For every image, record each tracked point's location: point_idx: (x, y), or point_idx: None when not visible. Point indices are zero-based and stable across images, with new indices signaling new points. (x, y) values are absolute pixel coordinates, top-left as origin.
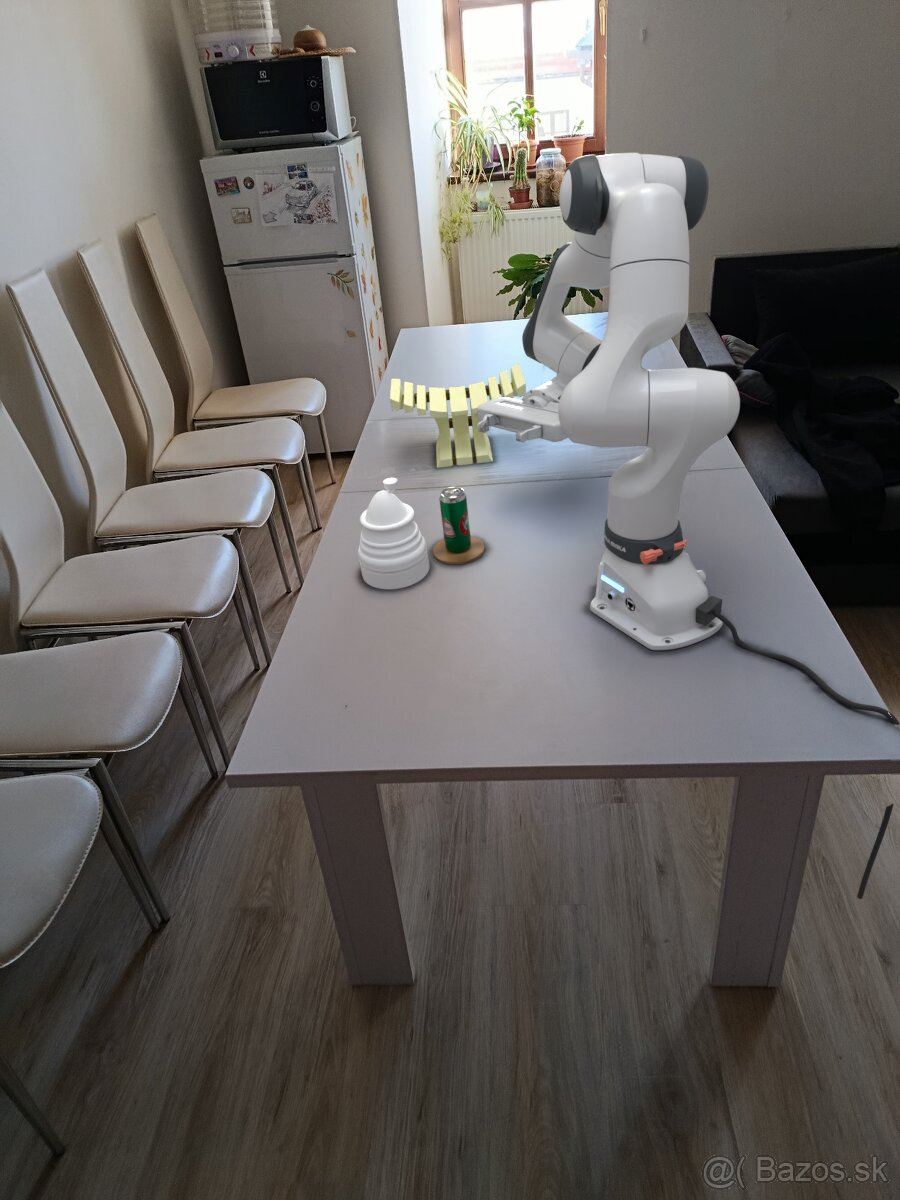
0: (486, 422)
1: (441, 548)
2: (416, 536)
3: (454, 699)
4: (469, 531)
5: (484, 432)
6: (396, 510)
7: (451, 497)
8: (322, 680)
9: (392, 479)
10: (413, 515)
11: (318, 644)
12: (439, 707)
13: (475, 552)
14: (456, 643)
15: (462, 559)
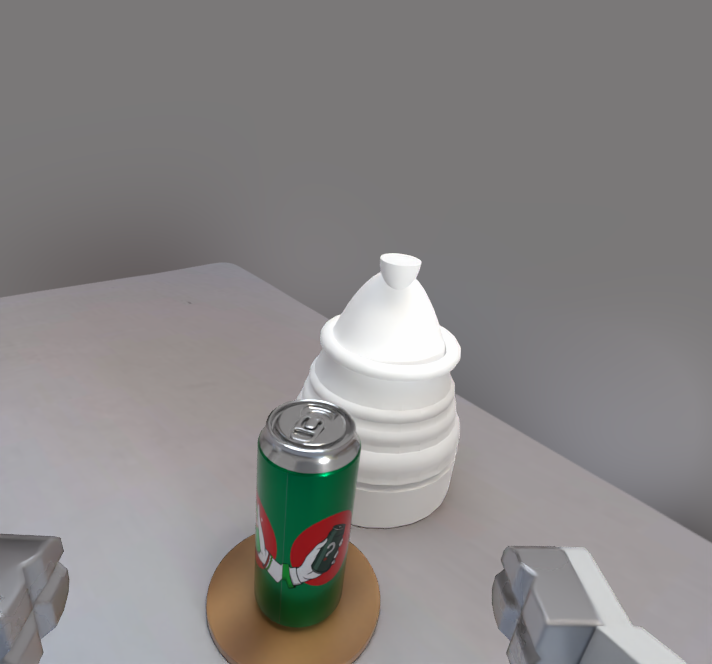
0: (542, 595)
1: None
2: (315, 394)
3: (51, 332)
4: (259, 565)
5: (494, 607)
6: (348, 307)
7: (286, 403)
8: (247, 312)
9: (402, 262)
10: (332, 353)
11: (307, 334)
12: (67, 323)
13: (227, 599)
14: (99, 386)
15: (242, 552)
